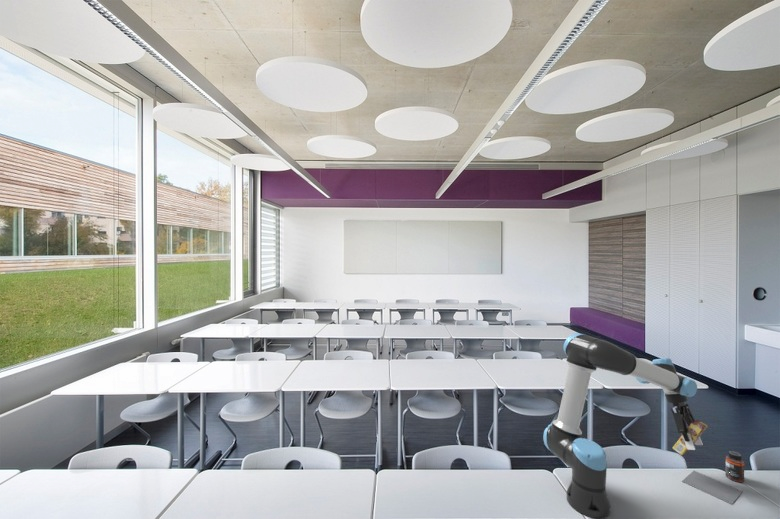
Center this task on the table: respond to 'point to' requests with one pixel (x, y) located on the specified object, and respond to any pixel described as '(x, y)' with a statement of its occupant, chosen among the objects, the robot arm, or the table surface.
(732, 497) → the felt pad
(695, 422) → the candy box
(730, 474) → the supplement bottle
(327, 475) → the table surface
